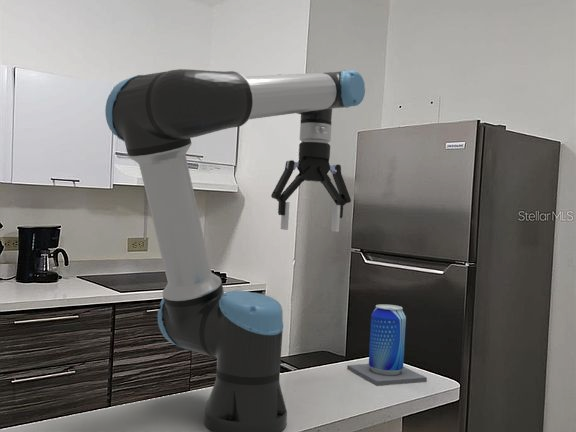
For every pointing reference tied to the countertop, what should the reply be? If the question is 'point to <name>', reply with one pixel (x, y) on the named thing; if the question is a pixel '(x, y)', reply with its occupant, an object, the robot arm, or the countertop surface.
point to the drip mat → (379, 379)
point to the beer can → (387, 339)
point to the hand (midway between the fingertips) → (310, 230)
